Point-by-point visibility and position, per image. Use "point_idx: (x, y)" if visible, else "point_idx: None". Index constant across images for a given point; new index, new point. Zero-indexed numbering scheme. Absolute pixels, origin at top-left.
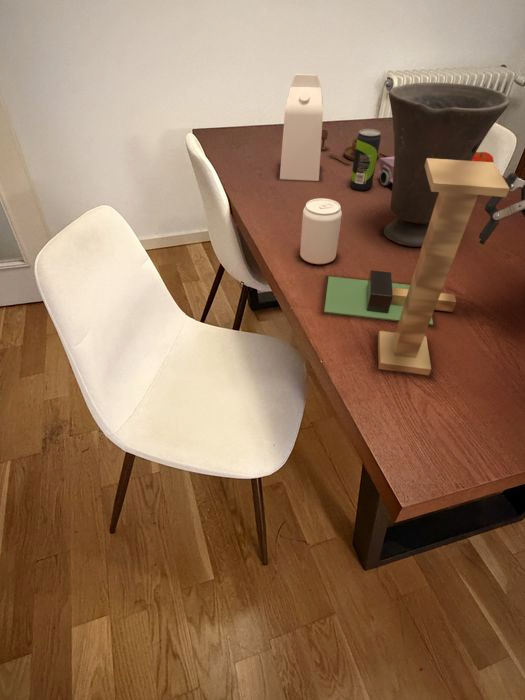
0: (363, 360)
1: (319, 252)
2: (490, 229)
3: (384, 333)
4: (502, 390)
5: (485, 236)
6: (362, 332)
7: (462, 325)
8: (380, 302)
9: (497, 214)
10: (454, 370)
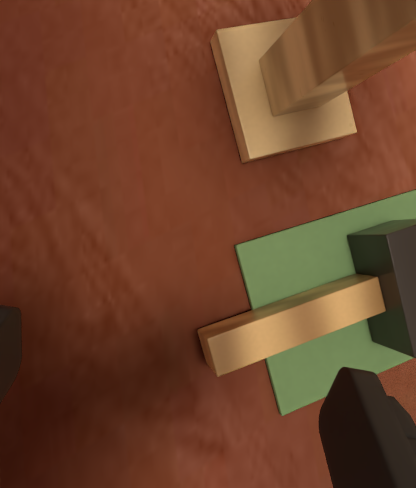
0: None
1: None
2: (400, 446)
3: (344, 125)
4: (24, 53)
5: (378, 398)
6: (377, 140)
7: (158, 287)
8: (391, 227)
9: None
10: (153, 85)
